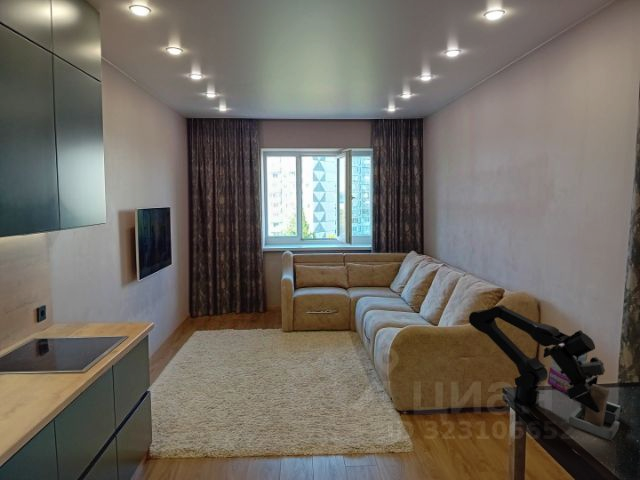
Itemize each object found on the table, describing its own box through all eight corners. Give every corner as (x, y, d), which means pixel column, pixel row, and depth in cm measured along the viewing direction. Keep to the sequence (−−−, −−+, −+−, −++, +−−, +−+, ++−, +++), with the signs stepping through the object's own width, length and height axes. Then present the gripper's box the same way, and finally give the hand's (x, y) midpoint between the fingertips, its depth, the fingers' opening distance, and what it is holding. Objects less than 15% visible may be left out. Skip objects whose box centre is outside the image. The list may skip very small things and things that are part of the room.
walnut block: (583, 426, 148) (589, 387, 146) (587, 421, 151) (593, 383, 150) (599, 432, 145) (605, 393, 143) (602, 427, 148) (609, 389, 146)
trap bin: (579, 413, 156) (581, 402, 156) (585, 407, 161) (587, 396, 161) (613, 426, 150) (615, 414, 149) (618, 419, 155) (620, 407, 154)
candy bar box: (581, 395, 170) (588, 352, 168) (571, 397, 168) (578, 353, 166) (556, 382, 180) (562, 341, 178) (546, 383, 179) (552, 342, 176)
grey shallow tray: (568, 423, 149) (569, 416, 149) (576, 414, 156) (578, 407, 156) (611, 440, 141) (612, 432, 141) (618, 429, 148) (619, 422, 147)
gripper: (584, 359, 140) (621, 406, 135) (594, 343, 155) (628, 386, 149) (552, 375, 146) (586, 422, 141) (565, 359, 161) (597, 401, 155)
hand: (601, 406), depth 146 cm, fingers open, 9 cm apart
